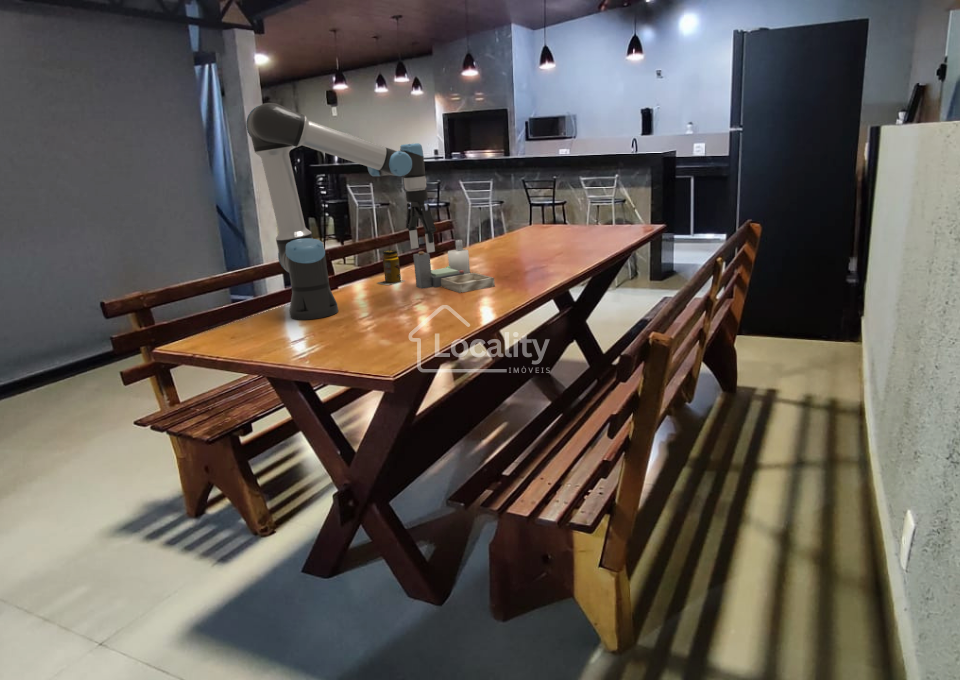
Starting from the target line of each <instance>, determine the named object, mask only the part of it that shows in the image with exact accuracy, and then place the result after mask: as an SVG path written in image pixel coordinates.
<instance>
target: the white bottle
mask: <svg viewBox="0 0 960 680" xmlns="http://www.w3.org/2000/svg"><path fill="white" fill-rule="evenodd" d="M447 258H448V266H450V269H454V270H458V271H459V270H464V274H469V273H471V269H470V268H471V267H470V255H469V249H466V248H465V249H464V246H463V240H462V239H455V249H452V250H448V251H447Z"/></svg>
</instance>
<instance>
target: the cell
mask: <svg viewBox="0 0 960 680" xmlns="http://www.w3.org/2000/svg"><path fill="white" fill-rule="evenodd" d="M412 256H413V265H414V274H415V275H414V276H415V283H416V284H415V287H416V288H419V289H421V290H422V289H423V290H424V289H427V288H434V287H433V285H432V275H431V270H432V266H431V255H430V253H427V252H424V251H423V250H422V251H418V253H413V254H412Z"/></svg>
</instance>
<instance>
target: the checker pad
mask: <svg viewBox="0 0 960 680" xmlns="http://www.w3.org/2000/svg"><path fill="white" fill-rule="evenodd" d="M454 273H458V270H454V269H450V268H446V267H443V268H437V269H431V275H432V276H435V277H438V276H443V275H449V274H454Z"/></svg>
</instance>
